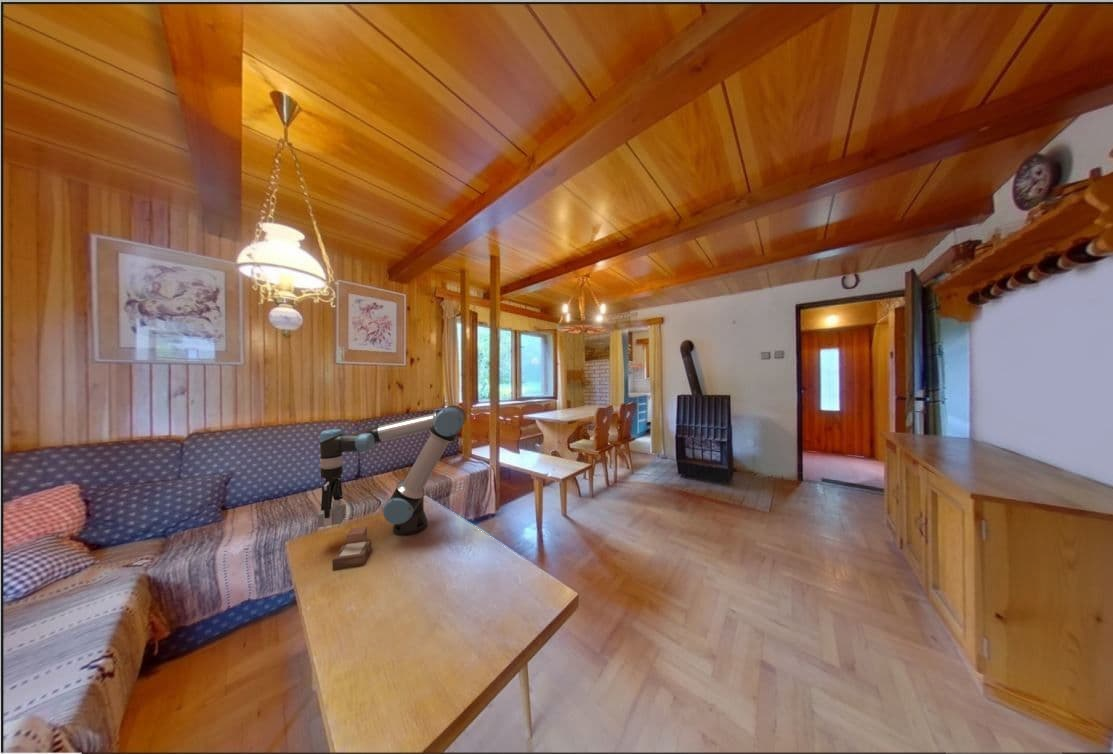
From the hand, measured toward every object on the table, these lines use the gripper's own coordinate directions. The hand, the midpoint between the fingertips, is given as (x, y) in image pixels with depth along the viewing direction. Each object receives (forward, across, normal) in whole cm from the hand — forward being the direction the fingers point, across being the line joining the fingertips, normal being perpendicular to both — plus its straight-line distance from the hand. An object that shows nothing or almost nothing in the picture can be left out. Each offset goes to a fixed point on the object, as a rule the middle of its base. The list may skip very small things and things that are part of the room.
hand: (332, 519), depth 131 cm
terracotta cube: (+13, -1, +8) cm, 15 cm away
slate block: (+1, 0, 0) cm, 1 cm away
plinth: (+13, +11, +10) cm, 20 cm away
